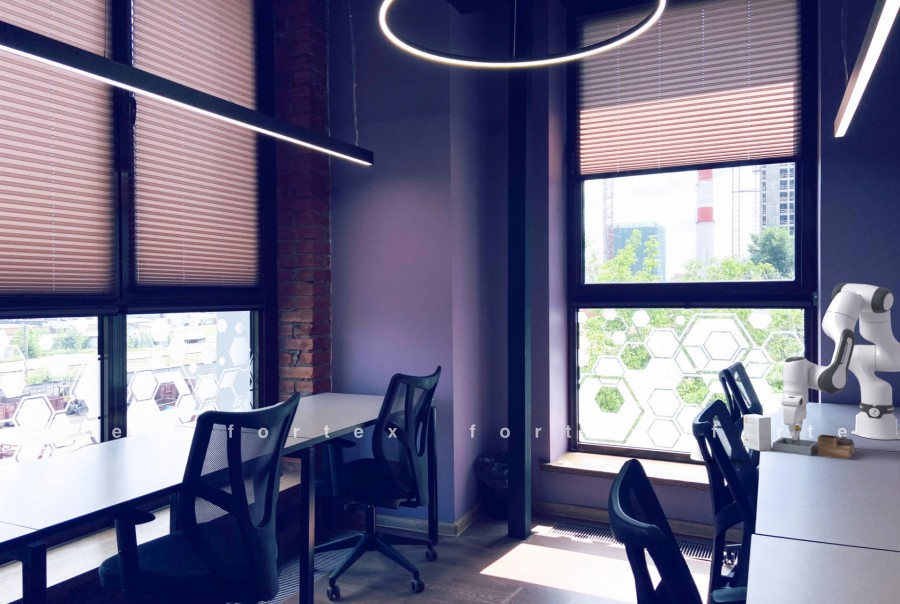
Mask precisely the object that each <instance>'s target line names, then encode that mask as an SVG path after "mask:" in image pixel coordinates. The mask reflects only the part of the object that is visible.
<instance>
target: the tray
mask: <svg viewBox="0 0 900 604" xmlns="http://www.w3.org/2000/svg"><path fill="white" fill-rule="evenodd" d="M772 451H773V452H778V451H779V452H780V453H786V454H794V455H801V456H808V457H809V456H810V457H811V456H813V455H814V454H815V453H816V452H818V440H810V439H809V440H808V439H801V438H800V446H797V445H792V437H784V436H782V437H780V438H778V439H776V440H775V441H774V442H772ZM779 452H778V453H779Z"/></svg>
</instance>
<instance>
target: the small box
mask: <svg viewBox="0 0 900 604" xmlns="http://www.w3.org/2000/svg"><path fill="white" fill-rule="evenodd" d="M771 418H772V417H771V416H766V415H763V414H756V413H752V414H743V447H744V446H745V447H744V448H746V449H751V450H755V451H758V452H762V451H764V452H765V451H770V450H772V421H771V420H772V419H771Z"/></svg>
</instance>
